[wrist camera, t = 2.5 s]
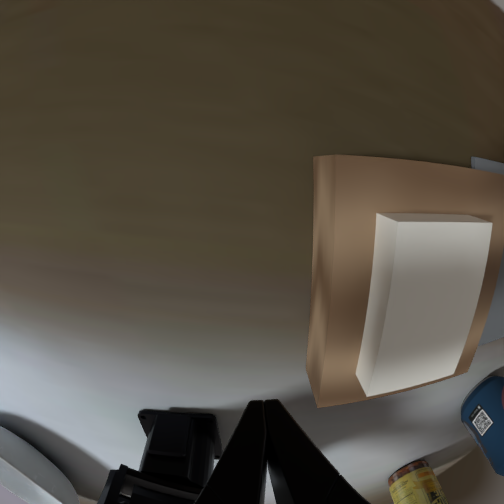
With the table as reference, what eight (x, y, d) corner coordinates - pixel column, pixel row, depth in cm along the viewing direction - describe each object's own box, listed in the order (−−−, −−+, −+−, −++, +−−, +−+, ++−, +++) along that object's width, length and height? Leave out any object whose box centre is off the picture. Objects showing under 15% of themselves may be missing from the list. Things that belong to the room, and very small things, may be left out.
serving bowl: (-4, 449, 26) (-18, 473, 19) (-39, 375, 21) (-64, 403, 14) (94, 503, 29) (85, 533, 22) (84, 453, 23) (66, 496, 17)
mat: (506, 333, 20) (508, 335, 20) (439, 354, 20) (441, 357, 20) (535, 172, 16) (538, 173, 15) (471, 156, 15) (474, 156, 15)
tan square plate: (442, 344, 20) (467, 372, 16) (305, 368, 19) (317, 408, 16) (471, 170, 16) (510, 176, 12) (313, 156, 15) (335, 154, 12)
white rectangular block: (438, 356, 15) (453, 373, 13) (355, 373, 15) (366, 396, 13) (468, 214, 12) (492, 223, 11) (376, 212, 12) (397, 221, 10)
